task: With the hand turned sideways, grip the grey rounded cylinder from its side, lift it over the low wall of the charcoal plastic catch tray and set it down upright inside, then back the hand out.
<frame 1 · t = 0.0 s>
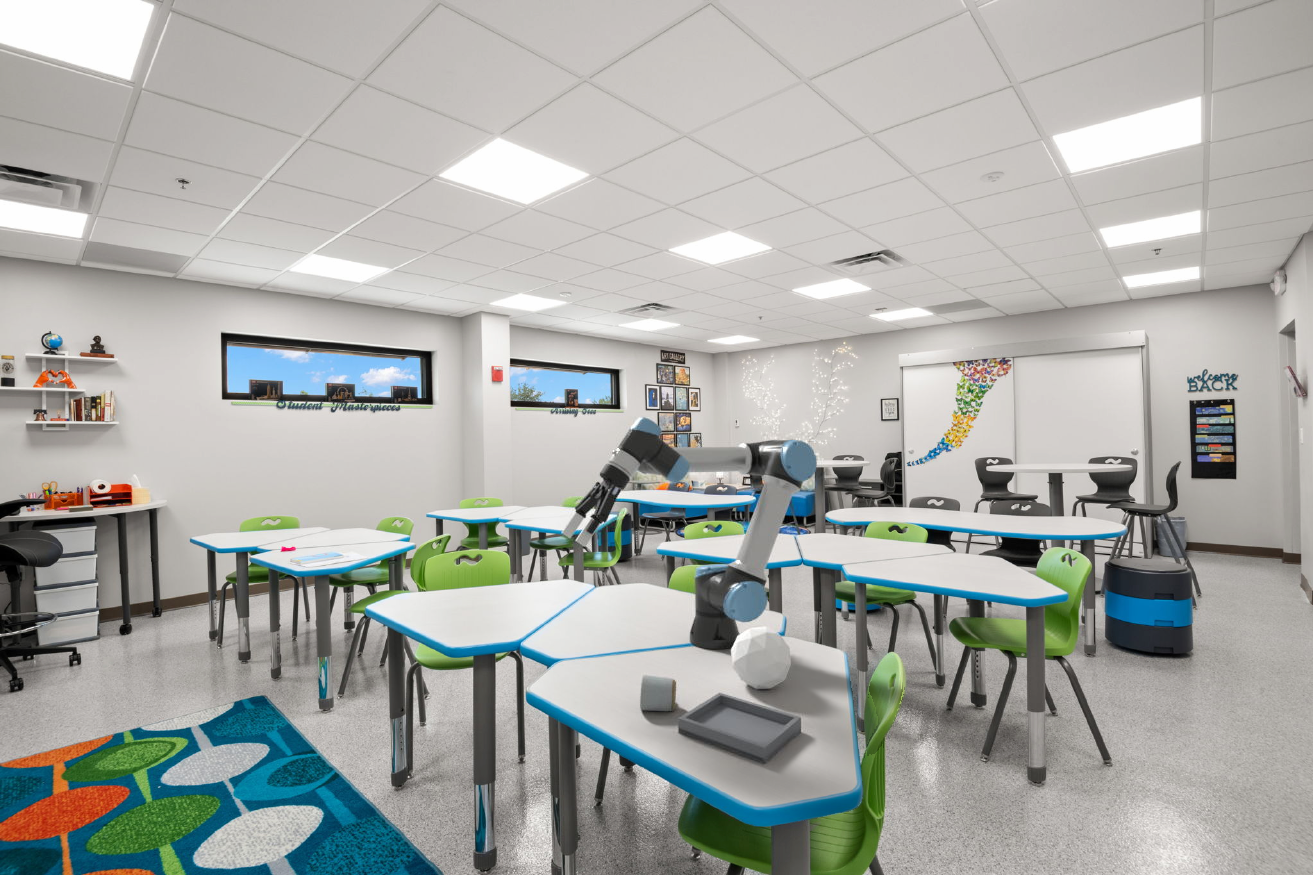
hand: (572, 539, 151), 36 cm above the table, tool tilted 35°, fingers open, 13 cm apart
geometric shape: (760, 686, 149), on the table
grey rounded cylinder: (657, 707, 138), on the table
catch tray: (739, 731, 125), on the table
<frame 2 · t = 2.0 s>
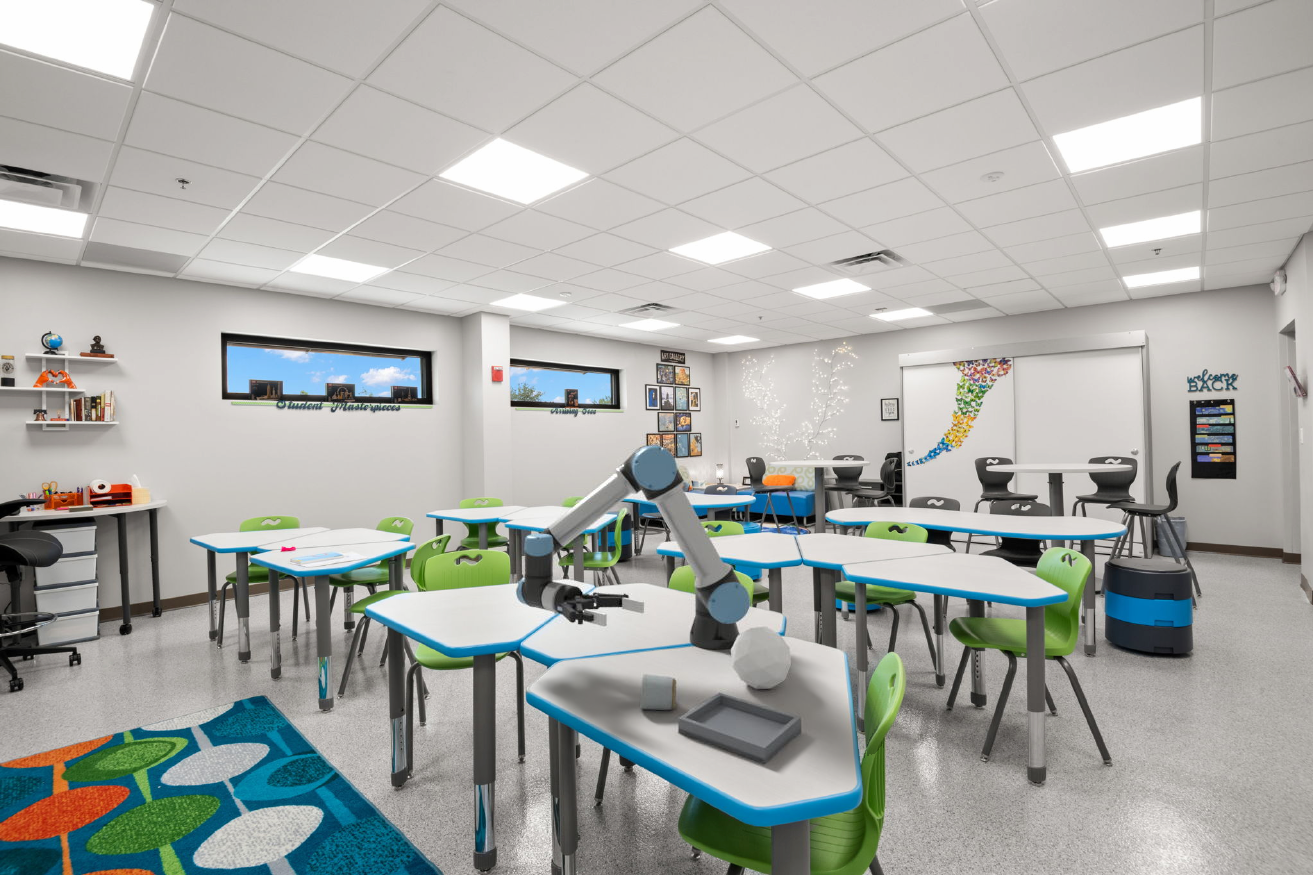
hand: (625, 613, 144), 20 cm above the table, tool horizontal, fingers open, 13 cm apart
nothing on the table moved.
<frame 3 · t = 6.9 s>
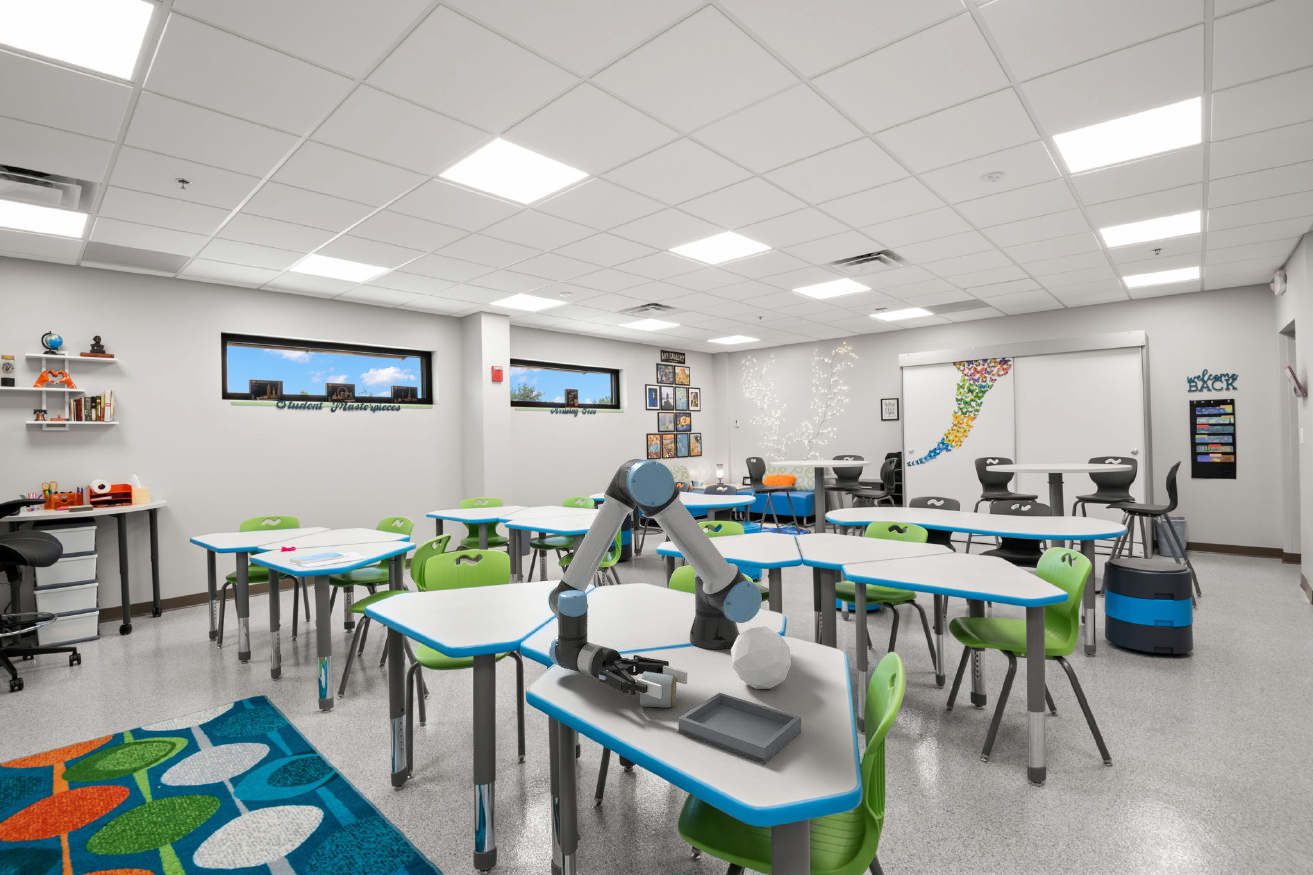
hand: (673, 684, 135), 6 cm above the table, tool horizontal, fingers closed on grey rounded cylinder, 9 cm apart
grey rounded cylinder: (657, 704, 139), on the table, touching gripper
everything else where it was.
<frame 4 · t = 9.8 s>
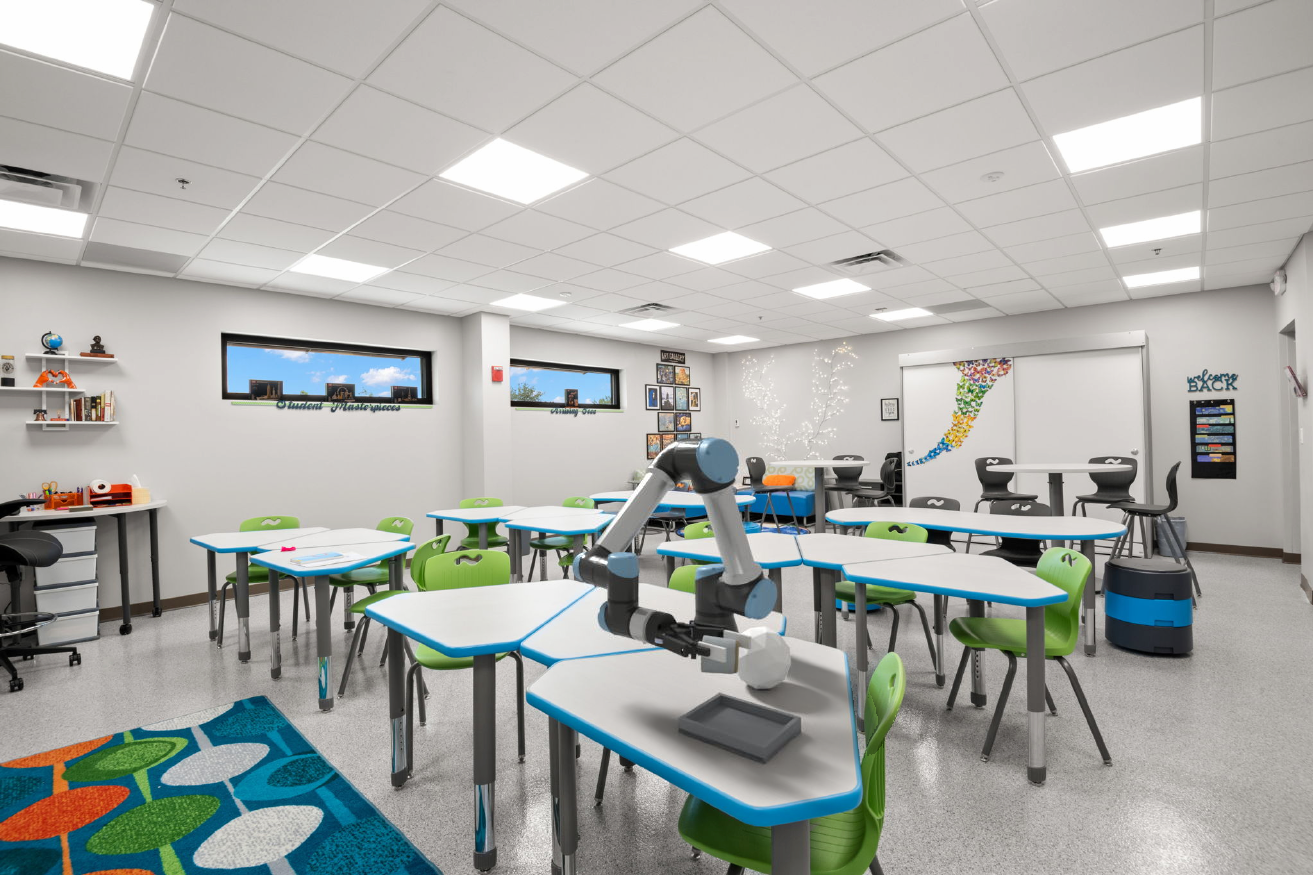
hand: (738, 648, 124), 18 cm above the table, tool horizontal, fingers closed on grey rounded cylinder, 9 cm apart
grey rounded cylinder: (719, 670, 128), point 12 cm above the table, touching gripper
everything else where it was.
when the fingers open (9 cm above the table, at t = 12.7 s): grey rounded cylinder drops 2 cm, resting on catch tray.
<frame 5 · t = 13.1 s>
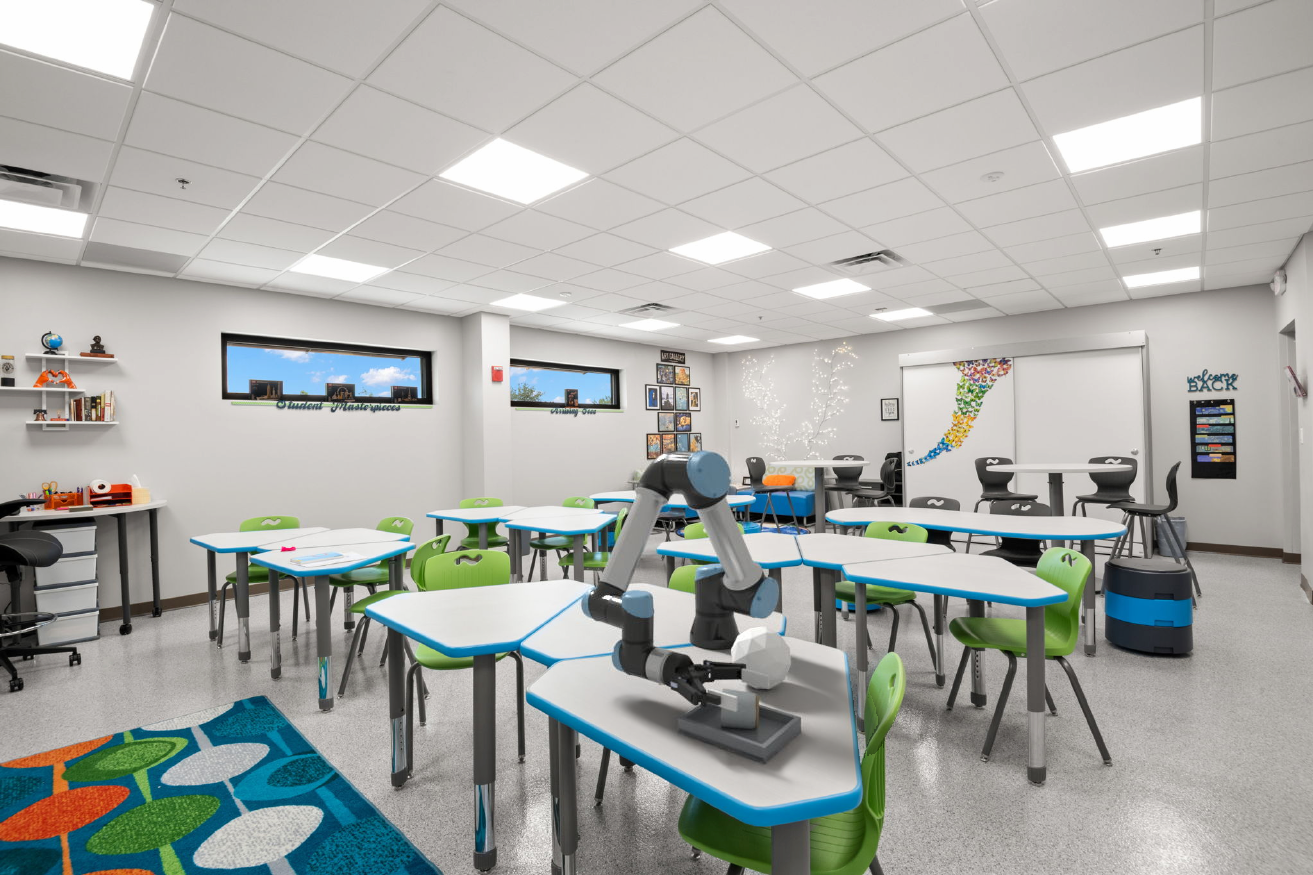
hand: (753, 692, 123), 9 cm above the table, tool horizontal, fingers open, 13 cm apart
grey rounded cylinder: (738, 724, 127), point 1 cm above the table, touching catch tray
everything else where it was.
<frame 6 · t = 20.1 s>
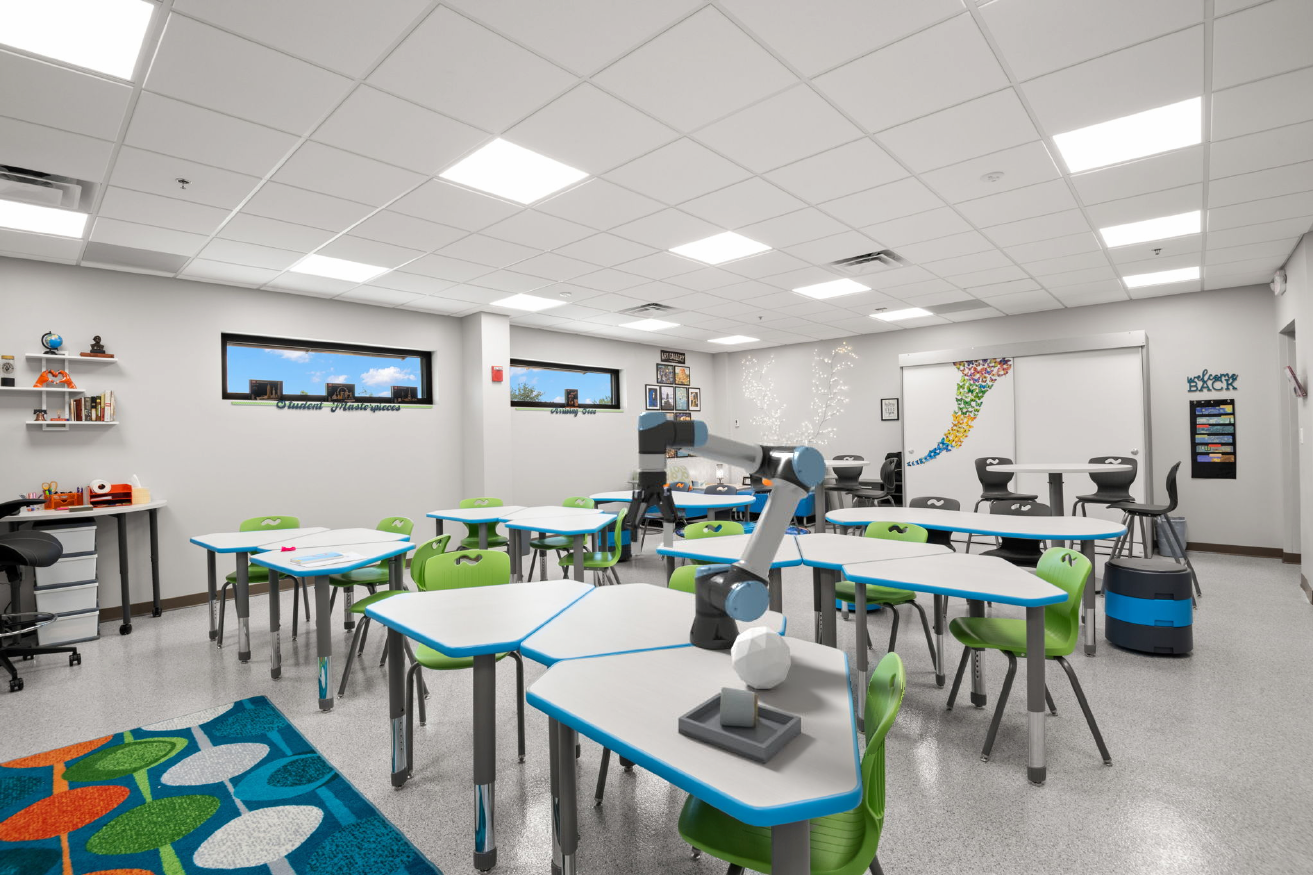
hand: (652, 550, 159), 32 cm above the table, tool pointing down, fingers open, 13 cm apart
nothing on the table moved.
at the end: grey rounded cylinder inside the target area on the catch tray (2.4 cm from its centre), point 0.8 cm above the catch tray's base; grey rounded cylinder tilted 0°; the gripper is holding nothing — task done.
